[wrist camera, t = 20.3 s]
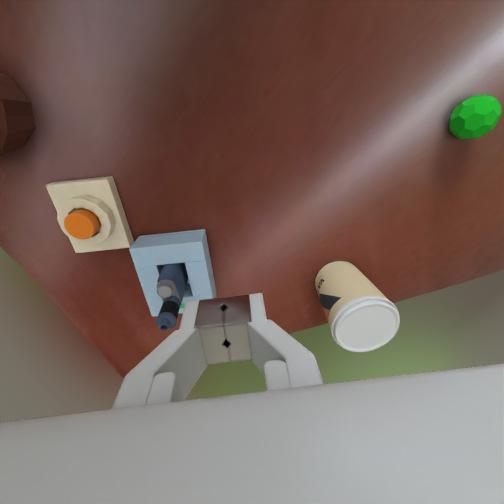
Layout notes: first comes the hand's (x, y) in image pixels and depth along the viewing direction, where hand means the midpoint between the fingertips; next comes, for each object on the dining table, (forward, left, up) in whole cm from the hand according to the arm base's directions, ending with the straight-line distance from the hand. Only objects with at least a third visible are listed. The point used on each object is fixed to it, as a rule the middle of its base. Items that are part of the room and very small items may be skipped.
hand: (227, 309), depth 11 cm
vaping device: (+14, -10, -28) cm, 33 cm away
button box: (+4, -20, -29) cm, 35 cm away
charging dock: (+14, -10, -29) cm, 34 cm away
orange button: (+4, -20, -26) cm, 33 cm away
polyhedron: (-4, +31, -29) cm, 43 cm away
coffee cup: (+20, +16, -29) cm, 39 cm away
